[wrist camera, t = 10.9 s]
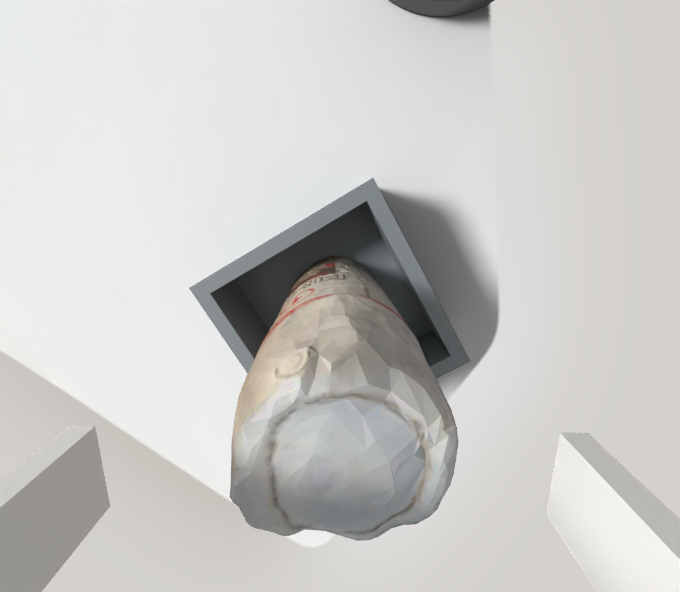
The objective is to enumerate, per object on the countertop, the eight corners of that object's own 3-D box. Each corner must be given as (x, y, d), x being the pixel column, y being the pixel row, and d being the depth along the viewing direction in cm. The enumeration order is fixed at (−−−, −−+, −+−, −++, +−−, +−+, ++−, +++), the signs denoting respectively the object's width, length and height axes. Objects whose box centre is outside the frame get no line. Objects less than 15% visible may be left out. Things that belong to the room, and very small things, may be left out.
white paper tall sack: (379, 245, 28) (457, 317, 9) (397, 340, 30) (494, 574, 11) (277, 267, 29) (136, 381, 9) (301, 359, 31) (225, 616, 11)
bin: (366, 185, 28) (373, 177, 22) (444, 330, 31) (470, 361, 25) (222, 272, 30) (189, 288, 24) (307, 402, 33) (298, 447, 26)
